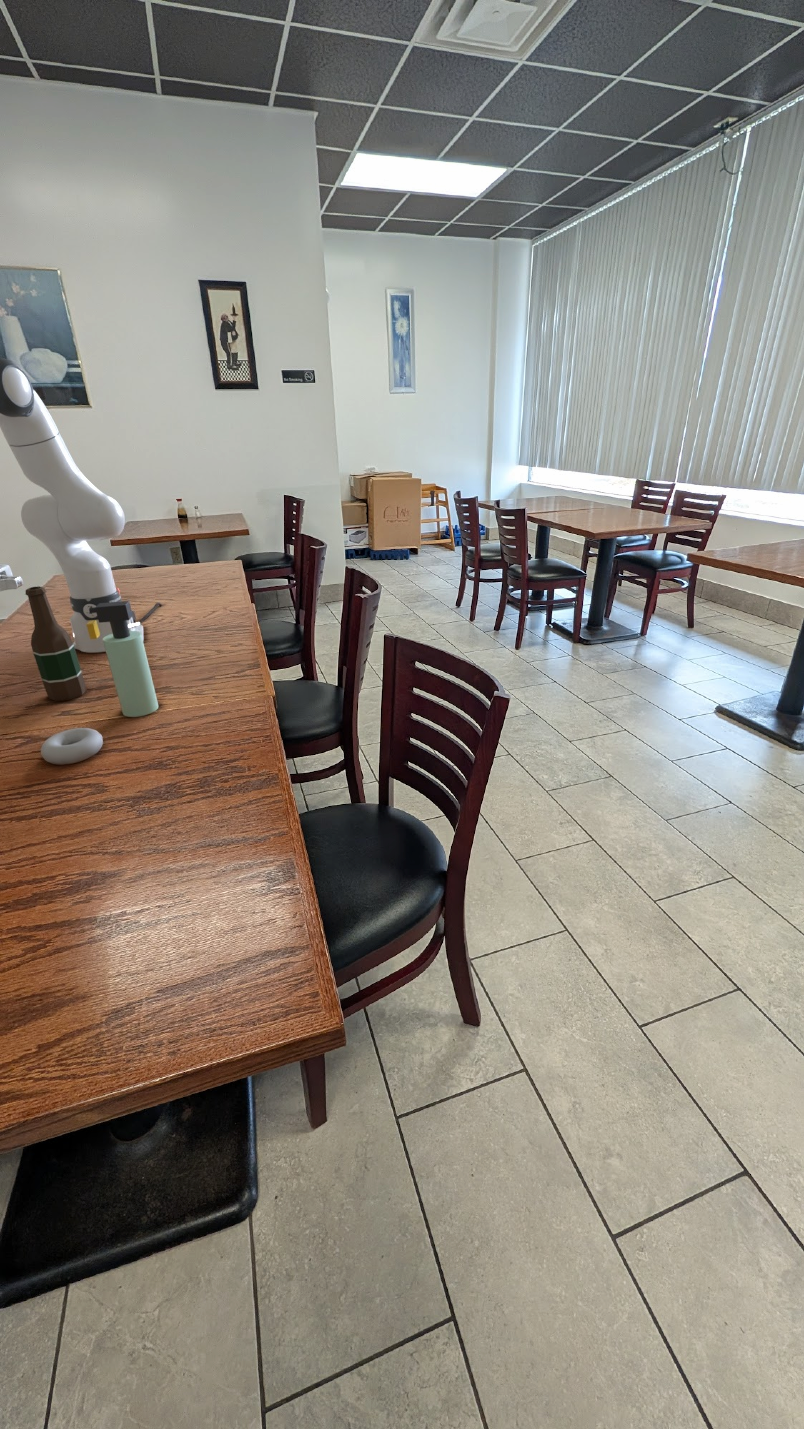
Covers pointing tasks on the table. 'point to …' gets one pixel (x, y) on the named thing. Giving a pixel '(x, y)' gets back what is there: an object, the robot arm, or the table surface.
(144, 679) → the spray bottle
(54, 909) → the table surface
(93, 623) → the block
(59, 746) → the donut
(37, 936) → the table surface
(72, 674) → the beer bottle
